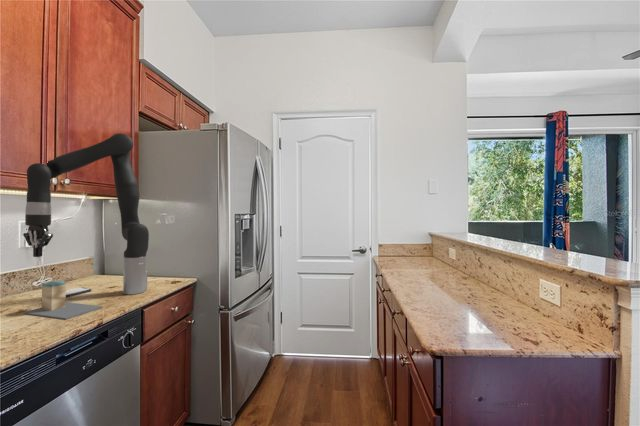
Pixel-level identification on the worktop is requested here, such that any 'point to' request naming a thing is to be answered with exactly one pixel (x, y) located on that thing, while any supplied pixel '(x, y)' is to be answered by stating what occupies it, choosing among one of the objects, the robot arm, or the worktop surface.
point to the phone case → (77, 291)
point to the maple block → (53, 295)
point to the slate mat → (64, 311)
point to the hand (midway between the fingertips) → (37, 256)
